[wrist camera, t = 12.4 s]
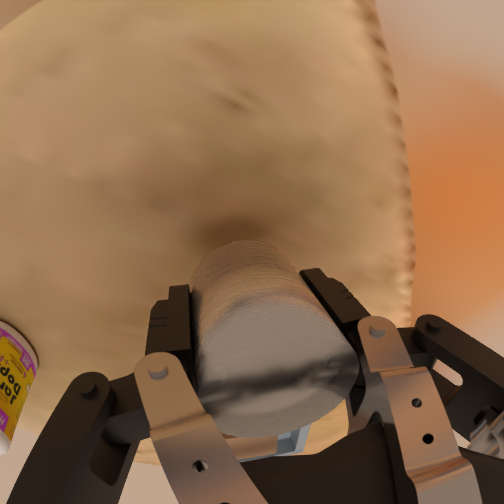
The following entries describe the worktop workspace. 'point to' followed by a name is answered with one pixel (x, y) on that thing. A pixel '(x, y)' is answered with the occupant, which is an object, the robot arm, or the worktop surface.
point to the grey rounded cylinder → (264, 344)
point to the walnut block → (251, 446)
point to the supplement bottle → (13, 380)
